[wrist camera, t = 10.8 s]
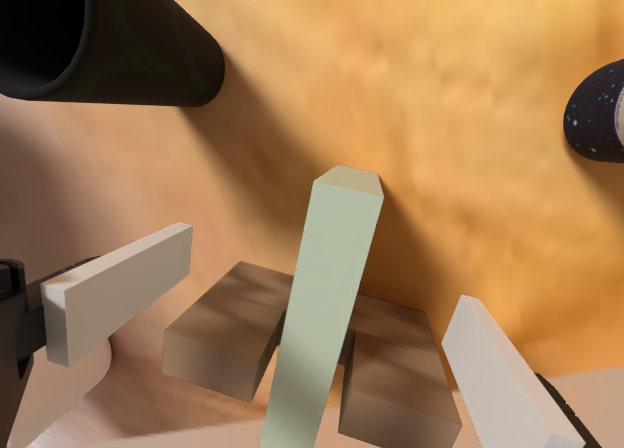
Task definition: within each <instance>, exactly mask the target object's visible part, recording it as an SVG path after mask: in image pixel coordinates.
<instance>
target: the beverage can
mask: <svg viewBox="0 0 624 448" xmlns="http://www.w3.org/2000/svg"><path fill="white" fill-rule="evenodd" d="M563 126H564V132H565V136H566V138H567V140H568V142H569V144H570V145H571V147H572V148H573V149H574V150H575V151H576V152H578V153H579V154H580V155H582V156H584V157H586V158H589V159H592V160H596V161H603V162H616V163H624V59H622V60H619V61H616V62H613V63H610V64H608V65H606V66H604V67H602V68H600V69H598V70H597V71H595V72H594V73H592V74H591V75H589V76H588V77H587V78H586V79H585V80H584V81H583V82H582V83H581V84H580V85H579V86H578V87H577V88H576V90H575V91H574V93H573V94H572V96H571V97H570V99H569V101H568V104H567V106H566V109H565V113H564V120H563Z"/></svg>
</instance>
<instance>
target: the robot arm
mask: <svg viewBox="0 0 624 448" xmlns="http://www.w3.org/2000/svg"><path fill="white" fill-rule="evenodd" d="M192 231H193V225H189V224H185V223H181V222H177V223H175V224H173V225H171V226H168V227H166V228H164V229H162V230H159V231H157V232H155V233H153V234H150V235H148V236H146V237H144V238H141V239H139V240H137V241H135V242H132V243H130V244H128V245H126V246H123V247H121V248H119V249H117V250H115V251H112V252H110V253H108V254H106V255H102V256H97V257H93V258H88V259H86V260H83V261H81V262H79V263H76V264H74V266H69V267H67V268H65V269H63V271H61V270H60V271H58V272H56V273H53V274H51V275H49V276H46V277H44V278H42V279H39V280H37V281H35V282H32V283H30V284H28V285H26V280H25V271H24V264H23V263H21V262H20V261H17V260H12V259H0V448H6V446H7V443H8V440H9V437H10V434H11V431H12V428H13V425H14V421H15V418H16V415H17V412H18V409H19V406H20V403H21V400H22V397H23V394H24V391H25V388H26V385H27V382H28V379H29V376H30V373H31V370H32V367H33V364H34V355H33V353H34V352H36V351H38V350H39V349H41V348H42V347H44V346H45V345H46V353H47V361H50V362H53V363H56V364H59V365H62V366H65V367H68V368H69V367H71V366H72V365H73V364H74V363H76V362H77V361H78V360H80V359H81V358H82V357H83V356H85V355H86V354H87V353H89V352H90V351H91V350H92V349H94V348H95V347H96V346H98V345H99V344H100V343H101V342H103V341H104V340H105V339H107V338H108V337H109V336H110V335H112V334H113V333H114V332H116V331H117V330H118V329H119V328H121V327H122V326H123V325H125V324H126V323H127V322H128V321H130V320H131V319H132V318H134V317H135V316H136V315H137V314H139V313H140V312H141V311H143V310H144V309H145V308H146V307H148V306H149V305H150V304H152V303H153V302H154V301H155V300H157V299H158V298H159V297H161V296H162V295H163V294H164V293H166V292H167V291H168V290H170V289H171V288H172V287H173V286H175V285H176V284H177V283H179V282H180V281H181V280H182V279H184V278H185V277H186V276H188V275H189V267H190V255H191V243H192ZM441 344H442V347H443V349H444V352H445V354H446V357H447V359H448V362H449V364H450V367H451V369H452V372H453V374H454V377H455V380H456V382H457V385H458V387H459V390H460V392H461V395H462V397H463V400H464V402H465V405H466V407H467V410H468V413H469V415H470V417H471V420H472V423H473V425H474V428H475V430H476V433H477V435H478V438H479V440H480V443H481V445H482V448H602V447H601V446H600V445H599V444H598V442H597V441H596V440H595V438H594V437H593V436H592V435H591V434H590V432H589V431H588V429H587V428H586V427H585V426H584V425H583V423H582V422H581V420H580V419H579V418H578V417H577V416H575V413H574V412H573V410H572V409H571V408H570V407H569V405H568V404H566V401H565V400H564V399H563V397H562V396H561V395H560V394H559V392H558V391H557V390H556V389H555V388H554V386H552V385H551V384H550V383H549V382H548V381H547V380H546V379H544V378H543V377H542V376H541V375H540V374H538V373H534V372H533V371H532V370H531V369H530V367H529V366H528V364H527V363H526V362H525V360H524V359H523V358H522V356H521V355H520V354H519V352H518V351H517V350H516V348H515V347H514V346H513V344H512V343H511V342H510V340H509V339H508V338H507V336H506V335H505V333H504V332H503V331H502V329H501V328H500V327H499V325H498V324H497V323H496V321H495V320H494V319H493V317H492V316H491V315H490V313H489V312H488V311H487V309H486V308H485V306H484V305H483V304H482V302H481V301H480V300H479V299H478V298H474V297H470V296H466V295H462V294H461V297H460V299H459V302H458V304H457V307H456V309H455V312H454V314H453V316H452V319H451V321H450V324H449V326H448V329H447V331H446V334H445V336H444V338H443V341H442V343H441Z"/></svg>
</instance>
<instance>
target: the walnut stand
mask: <svg viewBox="0 0 624 448" xmlns="http://www.w3.org/2000/svg"><path fill="white" fill-rule="evenodd" d="M293 280H294V276H292V275H288V274H285V273H281V272H278V271H274V270H270V269H267V268H263V267H260V266H256V265H252V264H249V263H245V262H242V261H240V262H239V263H238V264H236V265H235V266H234V267H233V268H232V269H231V270H230V271H229V272H228V273H227V274H226V275H224V276H223V277H222V278H221V279H220V280H219V281H218V282H217V283H216V284H215V285H214V286H212V287H211V288H210V289H209V290H208V291H207V292H206V293H205V294H204V295H203V296H202V297H200V298H199V299H198V300H197V301H196V302H195V303H194V304H193V305H192V306H191V307H190V308H188V309H187V310H186V311H185V312H184V313H183V314H182V315H181V316H180V317H179V318H178V319H176V320H175V321H174V322H173V323H172V324H171V325H170V326H169V327H168V328H167V329H166V330H164V346H163V362H162V373H163V374H166V375H169V376H172V377H174V378H177V379H180V380H183V381H186V382H189V383H192V384H195V385H198V386H201V387H204V388H207V389H210V390H213V391H216V392H219V393H222V394H225V395H228V396H231V397H234V398H236V399H239V400H242V401H245V402H248V403H251V402H252V399H253V397H254V395H255V393H256V391H257V388H258V386H259V384H260V382H261V380H262V377H263V375H264V373H265V371H266V369H267V366H268V364H269V362H270V360H271V358H272V355H273V353H274V351H275V349H276V347H277V345H279V346H280V343H281V338H282V333H283V329H284V324H285V319H286V314H287V309H288V304H289V299H290V294H291V289H292V285H293ZM337 363H338V364H341V365H344V366H345V371H344V381H343V390H342V399H341V409H340V419H339V427H338V433H340V434H343V435H346V436H349V437H352V438H355V439H358V440H361V441H364V442H367V443H370V444H372V445H376V446H378V447H381V448H452V446H453V444H454V442H455V440H456V438H457V435H458V434H459V432H460V429H461V427H462V423H461V420H460V417H459V414H458V411H457V408H456V405H455V402H454V399H453V396H452V393H451V390H450V387H449V384H448V381H447V378H446V374H445V371H444V368H443V365H442V362H441V359H440V356H439V353H438V350H437V347H436V344H435V341H434V338H433V335H432V332H431V329H430V326H429V323H428V320H427V317H426V314H425V312H421V311H418V310H414V309H411V308H407V307H403V306H400V305H396V304H393V303H389V302H385V301H382V300H378V299H375V298H371V297H367V296H364V295H360V294H357V295H356V299H355V302H354V306H353V309H352V313H351V316H350V320H349V323H348V327H347V330H346V334H345V337H344V341H343V345H342V348H341V352H340V355H339V359H338V362H337Z"/></svg>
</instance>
